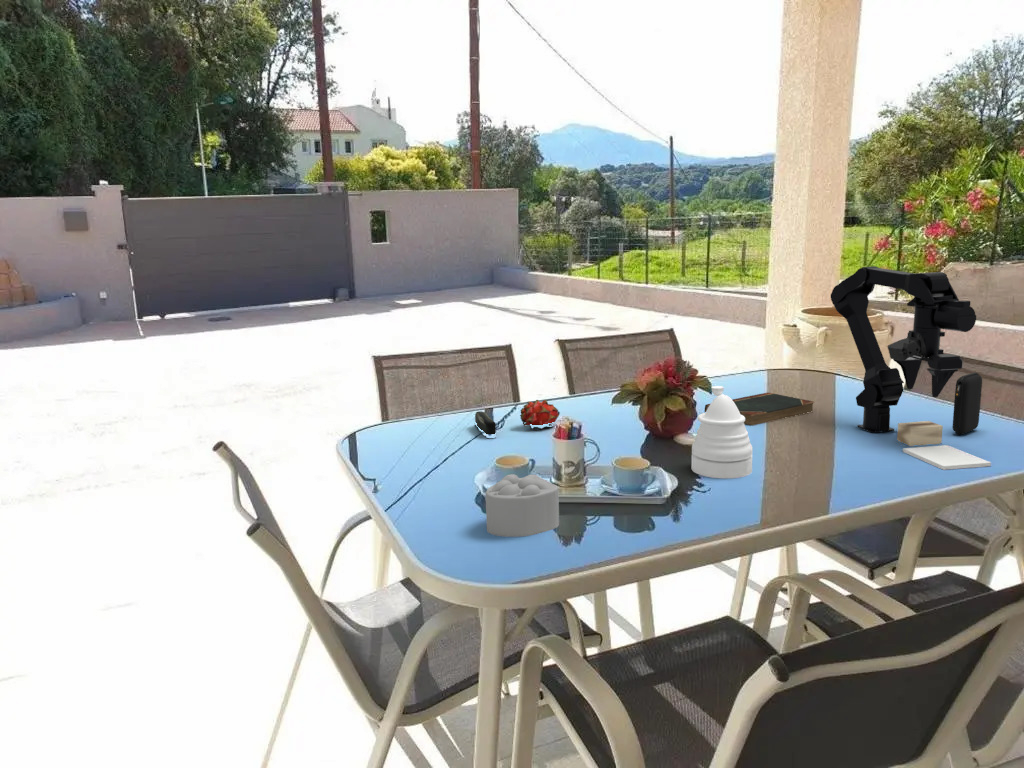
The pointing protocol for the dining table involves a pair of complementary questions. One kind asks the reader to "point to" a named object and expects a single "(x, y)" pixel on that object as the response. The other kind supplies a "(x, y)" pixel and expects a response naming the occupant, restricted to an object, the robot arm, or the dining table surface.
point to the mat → (946, 457)
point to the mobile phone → (485, 422)
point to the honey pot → (722, 441)
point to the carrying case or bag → (967, 403)
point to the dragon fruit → (539, 413)
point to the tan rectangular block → (919, 433)
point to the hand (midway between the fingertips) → (922, 392)
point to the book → (769, 407)
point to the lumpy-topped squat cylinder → (522, 506)
